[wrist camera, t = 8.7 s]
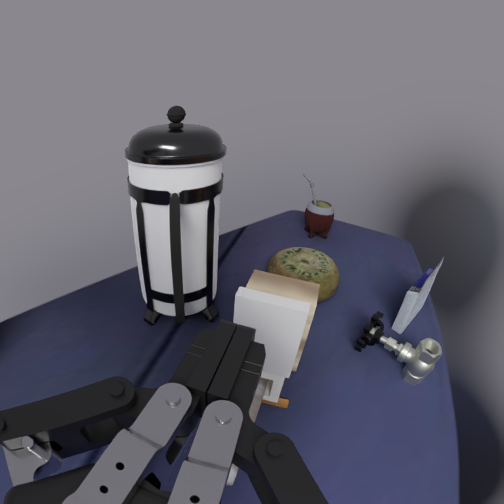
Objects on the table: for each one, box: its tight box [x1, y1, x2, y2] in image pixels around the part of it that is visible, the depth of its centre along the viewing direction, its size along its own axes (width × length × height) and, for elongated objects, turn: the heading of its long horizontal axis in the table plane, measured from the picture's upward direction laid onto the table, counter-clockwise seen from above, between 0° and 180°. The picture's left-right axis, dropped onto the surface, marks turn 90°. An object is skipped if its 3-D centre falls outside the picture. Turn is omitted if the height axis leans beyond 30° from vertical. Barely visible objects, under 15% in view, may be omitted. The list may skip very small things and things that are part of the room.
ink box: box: [392, 257, 444, 334], centre depth 46 cm, size 12×2×12 cm, turn 130°
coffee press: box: [125, 106, 226, 325], centre depth 39 cm, size 17×16×30 cm
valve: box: [355, 311, 442, 386], centre depth 38 cm, size 7×7×12 cm
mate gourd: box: [303, 174, 334, 239], centre depth 69 cm, size 8×8×15 cm
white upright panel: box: [233, 287, 311, 403], centre depth 29 cm, size 4×6×14 cm, turn 74°
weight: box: [267, 247, 339, 302], centre depth 55 cm, size 14×14×5 cm
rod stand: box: [226, 270, 320, 486], centre depth 29 cm, size 23×8×12 cm, turn 164°
